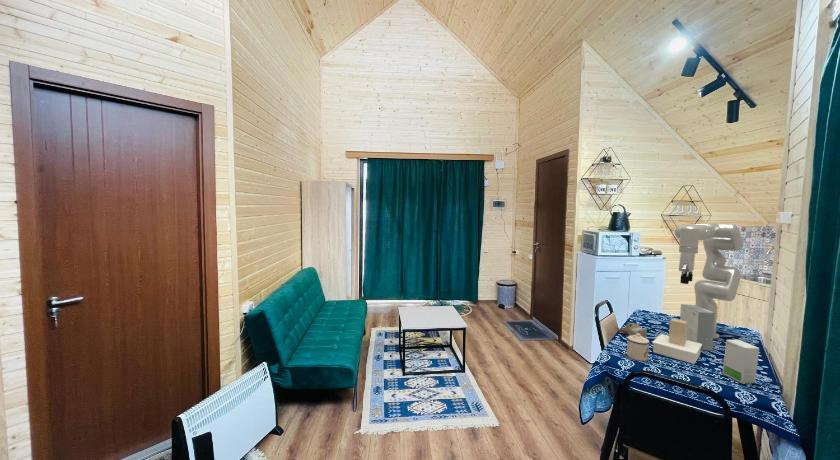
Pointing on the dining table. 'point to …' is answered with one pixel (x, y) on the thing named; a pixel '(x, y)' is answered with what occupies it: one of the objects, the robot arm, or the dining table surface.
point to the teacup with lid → (637, 347)
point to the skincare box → (740, 361)
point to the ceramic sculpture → (634, 330)
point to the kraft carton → (678, 332)
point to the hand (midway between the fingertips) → (686, 282)
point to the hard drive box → (699, 325)
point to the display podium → (677, 349)
